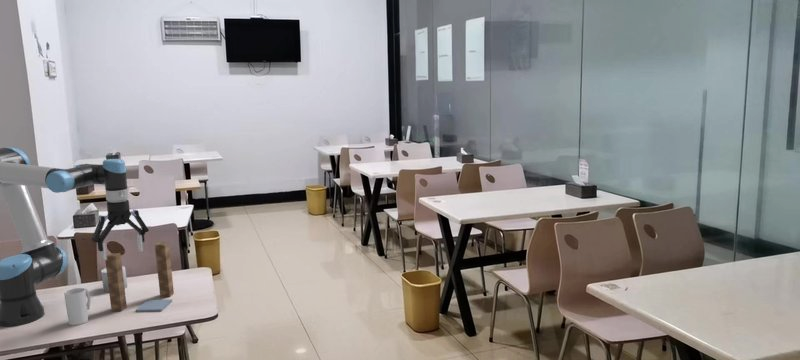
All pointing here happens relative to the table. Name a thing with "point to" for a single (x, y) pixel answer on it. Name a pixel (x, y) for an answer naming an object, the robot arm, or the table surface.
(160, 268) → the far post
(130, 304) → the table surface
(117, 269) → the corner post
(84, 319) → the mug
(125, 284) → the toilet tissue
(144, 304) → the mat
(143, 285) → the table surface
